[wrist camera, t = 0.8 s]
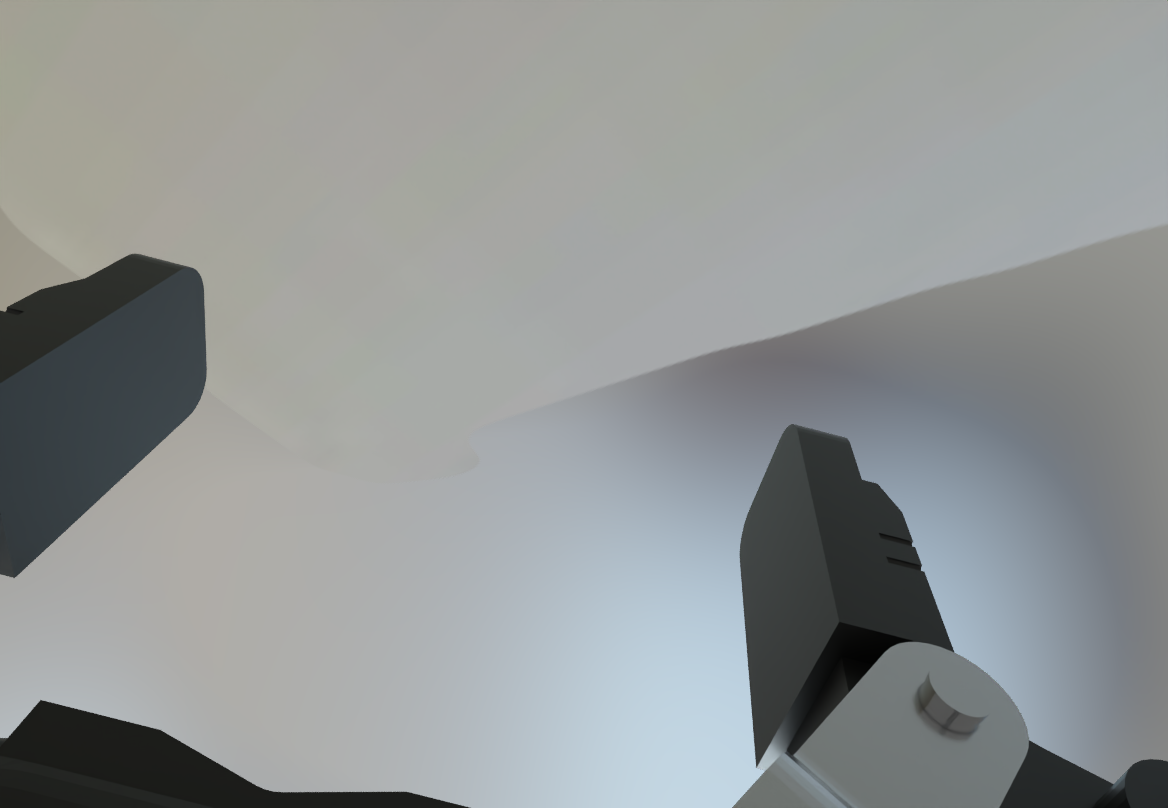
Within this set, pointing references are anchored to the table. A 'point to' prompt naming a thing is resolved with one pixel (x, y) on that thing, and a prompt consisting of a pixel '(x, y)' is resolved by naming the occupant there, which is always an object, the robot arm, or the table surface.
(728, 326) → the table surface
